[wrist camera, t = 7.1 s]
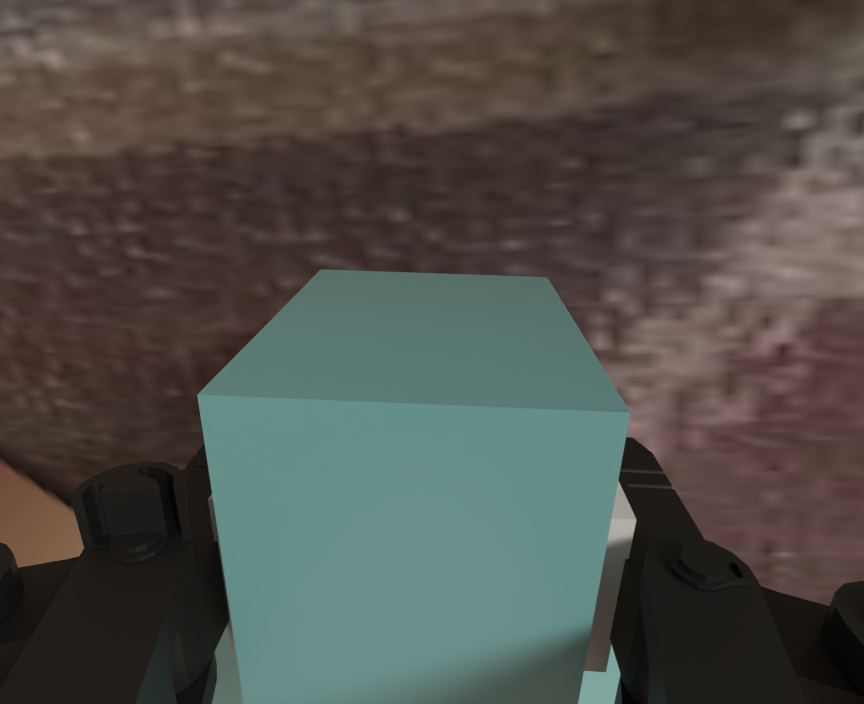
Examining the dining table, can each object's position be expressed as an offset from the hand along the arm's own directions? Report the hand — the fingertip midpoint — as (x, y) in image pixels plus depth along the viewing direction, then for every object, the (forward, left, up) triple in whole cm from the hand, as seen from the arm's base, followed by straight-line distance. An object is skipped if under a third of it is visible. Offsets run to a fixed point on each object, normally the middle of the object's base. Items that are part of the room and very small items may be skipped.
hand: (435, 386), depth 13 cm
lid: (+9, 0, +3) cm, 9 cm away
